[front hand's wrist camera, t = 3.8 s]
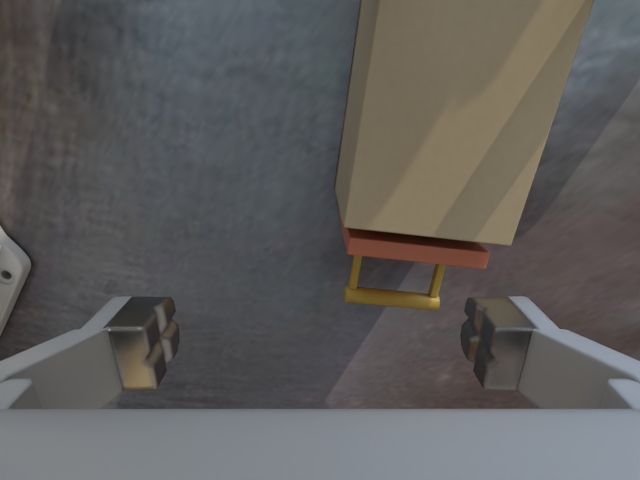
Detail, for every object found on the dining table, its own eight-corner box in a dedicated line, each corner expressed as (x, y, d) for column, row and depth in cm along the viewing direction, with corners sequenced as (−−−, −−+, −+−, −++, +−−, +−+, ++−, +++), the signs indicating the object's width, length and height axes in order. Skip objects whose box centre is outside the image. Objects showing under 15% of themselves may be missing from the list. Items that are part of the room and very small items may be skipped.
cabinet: (453, 201, 32) (511, 246, 23) (334, 187, 31) (343, 228, 22) (528, -82, 25) (657, -185, 16) (375, -108, 24) (414, -231, 15)
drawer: (429, 283, 34) (463, 338, 26) (329, 273, 33) (335, 327, 26) (511, -31, 25) (598, -83, 18) (378, -52, 25) (407, -116, 17)
